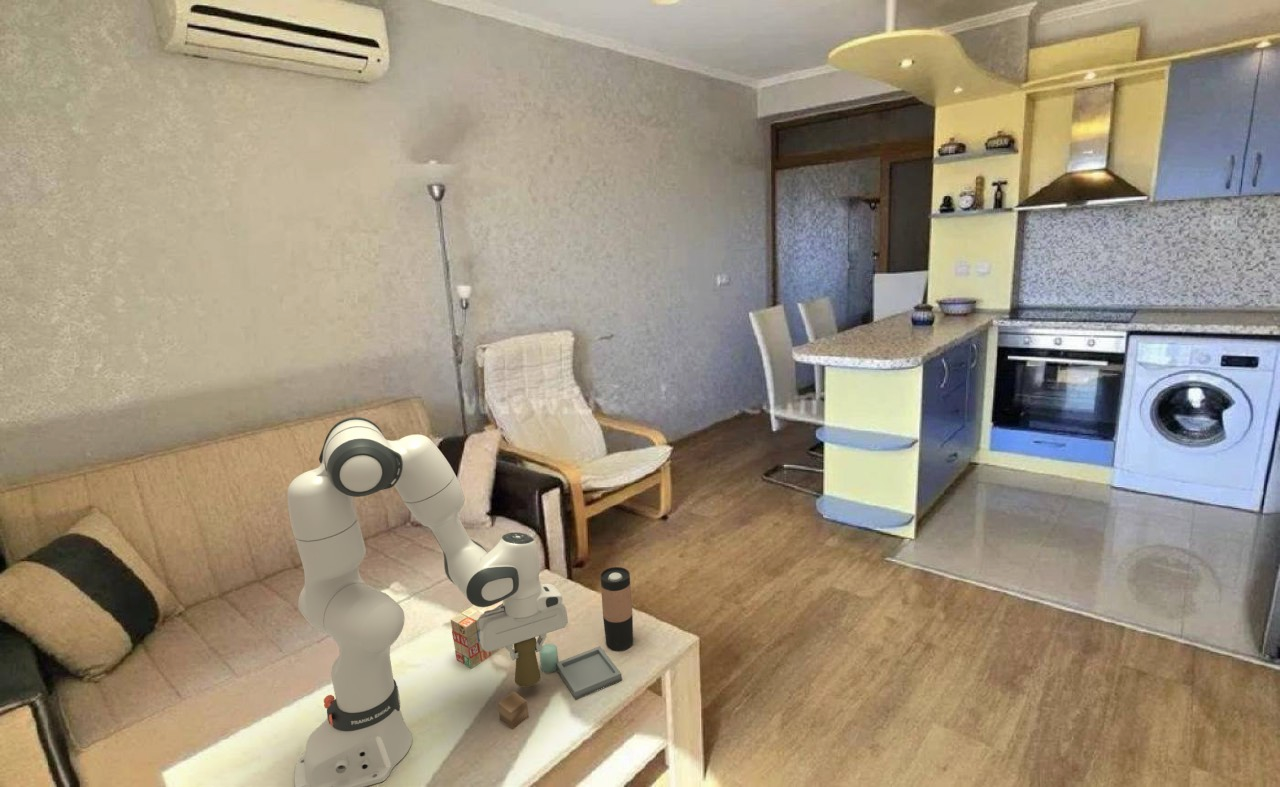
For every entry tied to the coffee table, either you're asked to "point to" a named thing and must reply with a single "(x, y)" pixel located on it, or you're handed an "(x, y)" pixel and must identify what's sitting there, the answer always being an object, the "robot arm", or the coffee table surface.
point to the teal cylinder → (548, 658)
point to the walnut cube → (513, 710)
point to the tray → (588, 672)
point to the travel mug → (617, 608)
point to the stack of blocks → (470, 635)
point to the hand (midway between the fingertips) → (526, 654)
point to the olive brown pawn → (526, 663)
